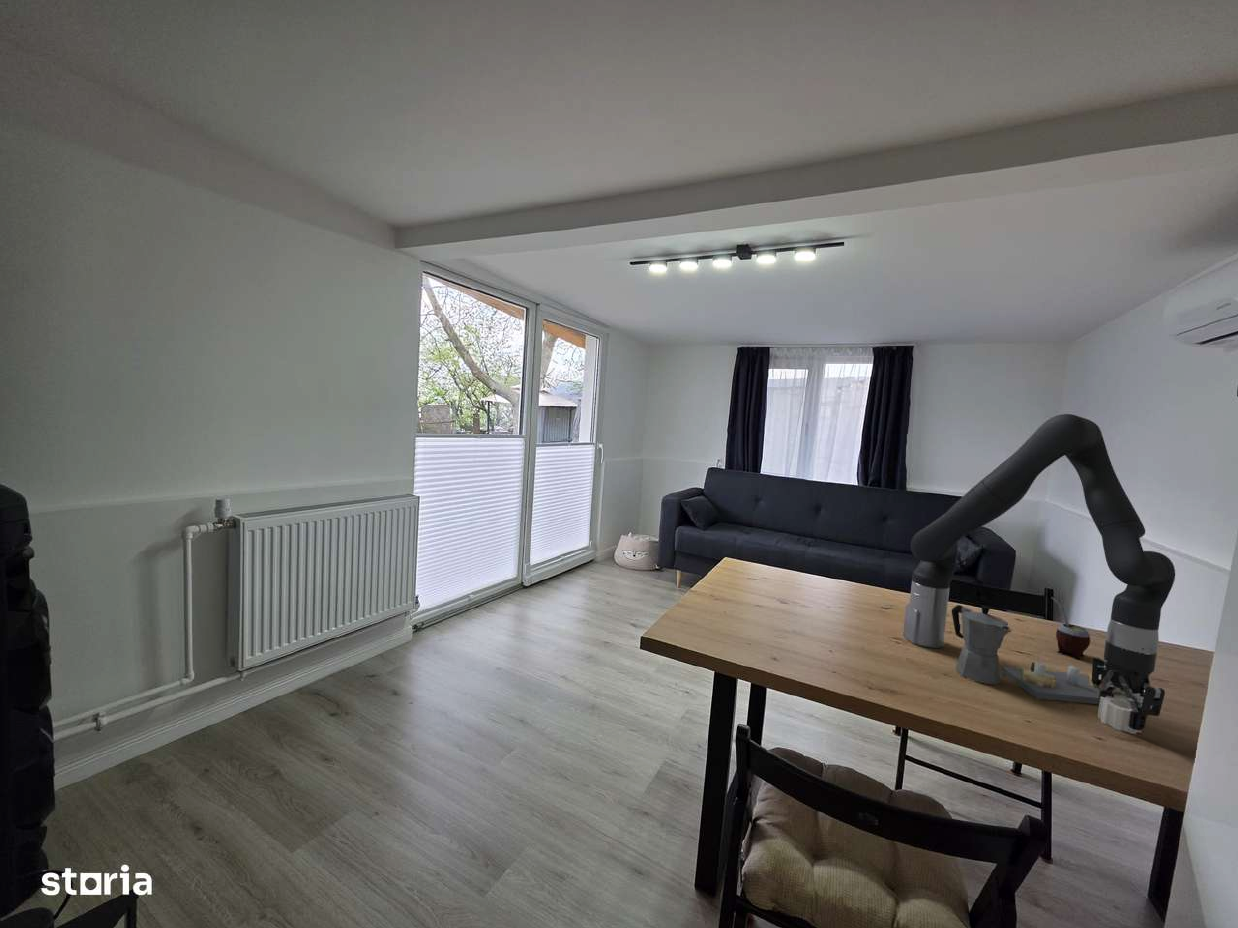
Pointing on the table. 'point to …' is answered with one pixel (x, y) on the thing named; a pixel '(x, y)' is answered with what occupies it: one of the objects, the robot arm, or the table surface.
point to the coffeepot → (979, 644)
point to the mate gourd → (1071, 638)
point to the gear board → (1058, 684)
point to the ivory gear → (1116, 713)
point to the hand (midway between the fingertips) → (1120, 718)
